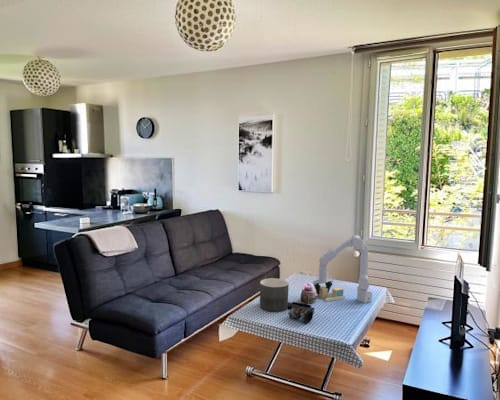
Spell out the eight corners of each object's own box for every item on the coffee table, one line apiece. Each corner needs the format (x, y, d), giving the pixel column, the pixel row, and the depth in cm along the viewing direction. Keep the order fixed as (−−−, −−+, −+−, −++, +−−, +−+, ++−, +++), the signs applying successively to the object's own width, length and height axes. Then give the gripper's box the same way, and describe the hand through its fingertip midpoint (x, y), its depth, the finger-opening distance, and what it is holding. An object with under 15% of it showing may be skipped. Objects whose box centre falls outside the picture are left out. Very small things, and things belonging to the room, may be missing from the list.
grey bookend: (344, 300, 256) (344, 295, 256) (326, 303, 250) (326, 298, 250) (333, 294, 267) (333, 290, 267) (315, 297, 261) (315, 292, 261)
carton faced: (335, 299, 255) (336, 290, 254) (332, 297, 258) (332, 288, 258) (343, 297, 257) (343, 289, 257) (339, 296, 261) (339, 287, 260)
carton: (327, 297, 258) (327, 288, 257) (322, 298, 256) (322, 289, 256) (322, 294, 263) (322, 285, 263) (317, 295, 262) (317, 286, 261)
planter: (286, 313, 232) (286, 288, 231) (257, 310, 236) (257, 285, 234) (289, 303, 250) (289, 279, 248) (262, 300, 253) (262, 277, 252)
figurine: (307, 316, 214) (285, 306, 223) (307, 328, 217) (286, 318, 226) (315, 308, 220) (294, 299, 229) (315, 320, 223) (294, 310, 232)
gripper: (328, 271, 265) (327, 290, 266) (310, 273, 259) (310, 292, 260) (334, 274, 258) (334, 293, 260) (316, 276, 252) (316, 296, 254)
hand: (322, 293), depth 260 cm, fingers open, 7 cm apart
